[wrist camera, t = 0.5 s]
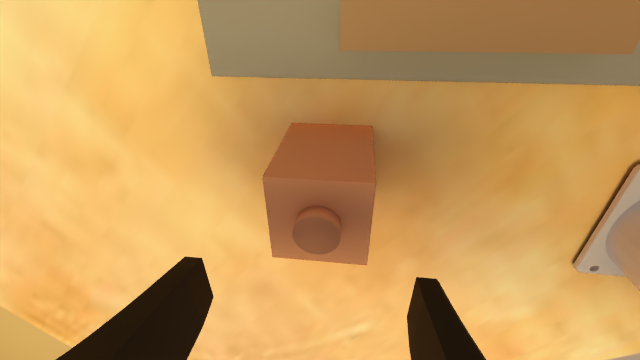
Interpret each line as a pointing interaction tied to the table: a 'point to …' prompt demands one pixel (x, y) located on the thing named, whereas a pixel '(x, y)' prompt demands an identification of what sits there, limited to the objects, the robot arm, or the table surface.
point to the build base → (322, 58)
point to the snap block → (322, 193)
